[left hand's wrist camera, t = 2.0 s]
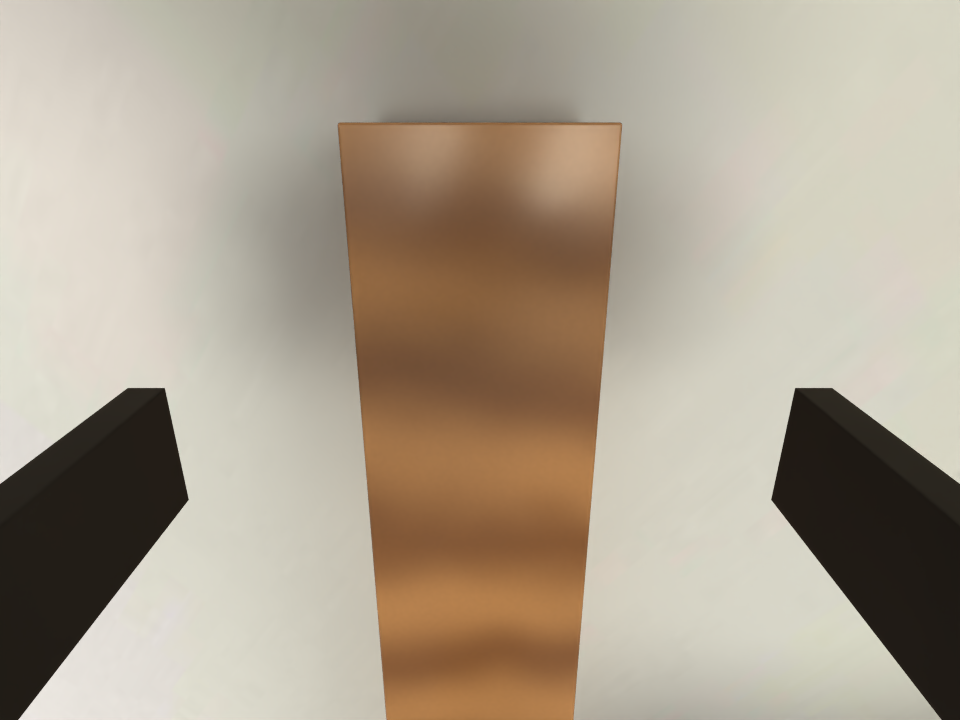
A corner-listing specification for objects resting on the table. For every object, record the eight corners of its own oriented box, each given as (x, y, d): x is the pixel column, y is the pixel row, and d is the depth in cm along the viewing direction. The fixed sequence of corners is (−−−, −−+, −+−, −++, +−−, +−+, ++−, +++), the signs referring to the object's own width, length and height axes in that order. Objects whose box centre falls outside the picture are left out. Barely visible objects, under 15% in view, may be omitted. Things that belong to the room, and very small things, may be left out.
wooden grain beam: (376, 122, 25) (337, 122, 18) (582, 123, 25) (622, 122, 18) (423, 903, 45) (413, 1045, 38) (536, 903, 45) (546, 1045, 38)
